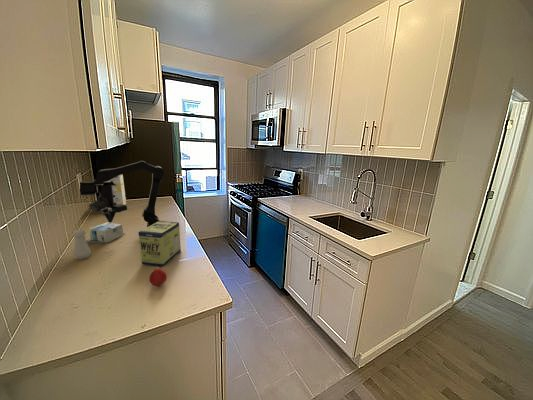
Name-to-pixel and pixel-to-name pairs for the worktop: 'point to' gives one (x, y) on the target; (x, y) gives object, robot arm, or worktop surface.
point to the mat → (96, 241)
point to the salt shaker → (81, 245)
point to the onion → (158, 277)
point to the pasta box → (118, 190)
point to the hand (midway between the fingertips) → (110, 222)
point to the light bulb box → (106, 232)
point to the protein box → (159, 243)
